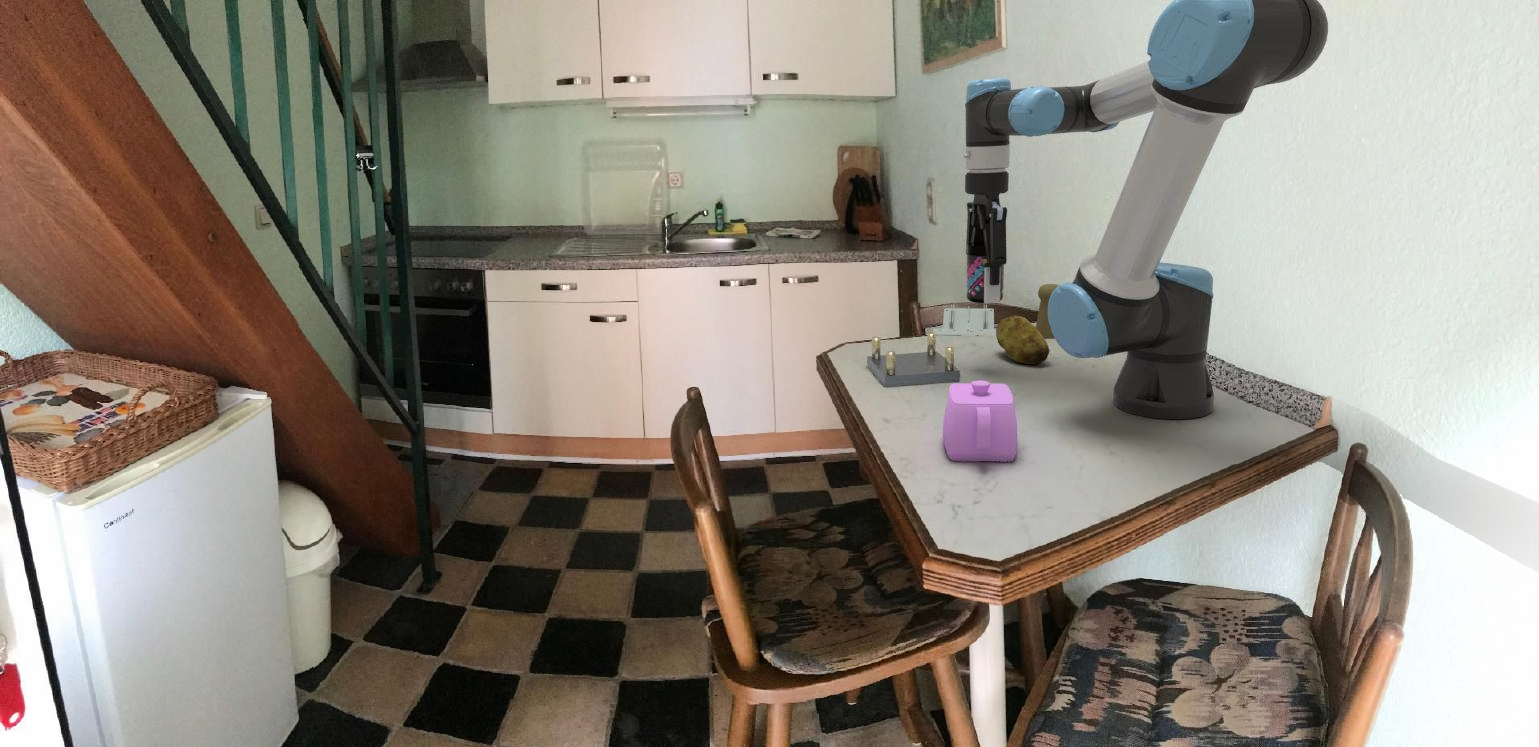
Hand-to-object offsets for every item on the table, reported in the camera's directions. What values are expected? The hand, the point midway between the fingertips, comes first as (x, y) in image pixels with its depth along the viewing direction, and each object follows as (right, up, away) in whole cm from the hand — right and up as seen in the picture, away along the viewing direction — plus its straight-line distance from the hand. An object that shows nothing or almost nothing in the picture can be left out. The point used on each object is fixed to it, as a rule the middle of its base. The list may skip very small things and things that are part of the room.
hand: (984, 298), depth 165 cm
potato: (+10, -11, +11) cm, 18 cm away
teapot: (-9, -25, -32) cm, 42 cm away
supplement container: (0, 0, 0) cm, 1 cm away
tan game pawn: (+20, -6, +28) cm, 35 cm away
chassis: (-13, -14, +5) cm, 19 cm away
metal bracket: (+5, -5, +36) cm, 37 cm away
